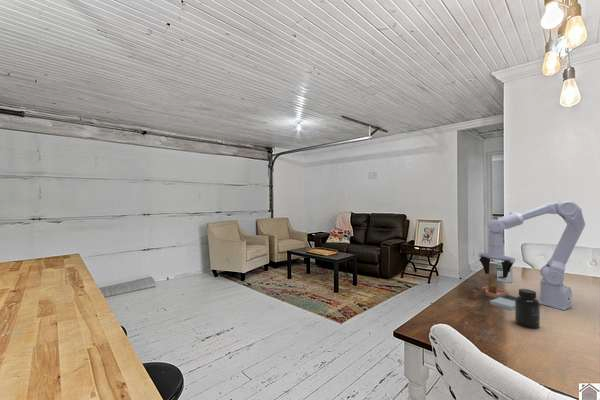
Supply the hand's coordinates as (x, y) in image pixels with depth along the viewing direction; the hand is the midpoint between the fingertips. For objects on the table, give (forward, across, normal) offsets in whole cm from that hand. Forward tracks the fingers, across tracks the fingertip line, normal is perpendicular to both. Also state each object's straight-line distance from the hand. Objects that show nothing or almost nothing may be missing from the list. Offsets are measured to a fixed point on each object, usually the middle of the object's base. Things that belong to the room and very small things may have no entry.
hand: (495, 275), depth 130 cm
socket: (+9, -6, +1) cm, 11 cm away
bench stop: (+9, +3, +9) cm, 13 cm away
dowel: (+9, +2, -1) cm, 9 cm away
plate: (+10, -8, +9) cm, 16 cm away
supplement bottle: (+10, -21, +22) cm, 32 cm away
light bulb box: (+10, +11, -31) cm, 34 cm away
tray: (+9, +2, -1) cm, 10 cm away
